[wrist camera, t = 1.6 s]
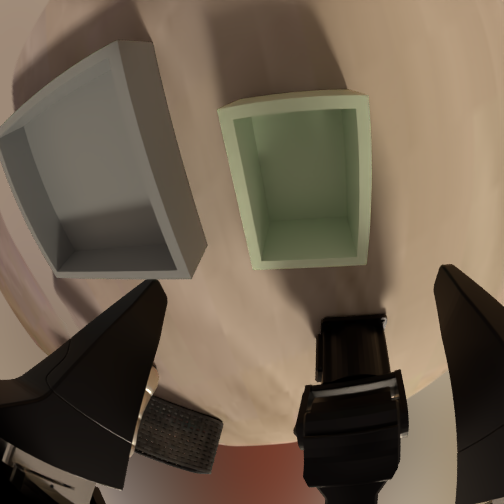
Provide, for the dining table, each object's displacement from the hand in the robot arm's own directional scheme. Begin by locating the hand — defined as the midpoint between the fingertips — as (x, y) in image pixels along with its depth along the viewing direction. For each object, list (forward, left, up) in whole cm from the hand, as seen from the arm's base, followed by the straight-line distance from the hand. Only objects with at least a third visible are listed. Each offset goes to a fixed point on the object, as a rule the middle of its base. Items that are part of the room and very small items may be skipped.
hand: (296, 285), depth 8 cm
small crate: (0, 0, -11) cm, 11 cm away
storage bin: (+35, +52, -11) cm, 63 cm away
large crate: (+16, -2, -11) cm, 19 cm away
